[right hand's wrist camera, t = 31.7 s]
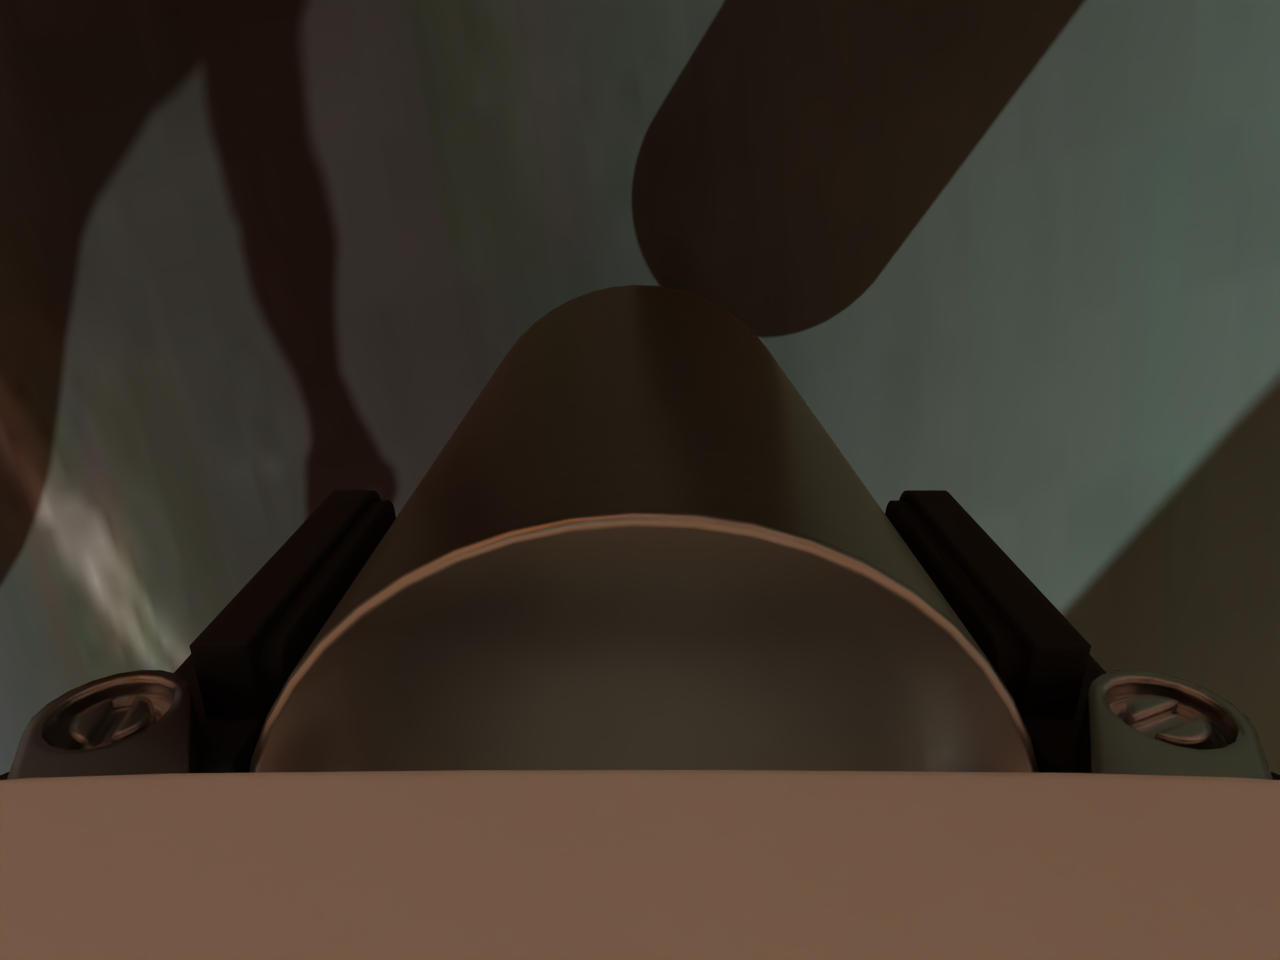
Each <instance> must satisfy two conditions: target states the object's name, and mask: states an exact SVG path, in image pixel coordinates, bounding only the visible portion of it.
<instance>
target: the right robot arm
mask: <svg viewBox="0 0 1280 960" xmlns="http://www.w3.org/2000/svg"><path fill="white" fill-rule="evenodd" d="M885 515H886V516H887V518H888V519H889V521H890V522H891V523H892V525H893V526H894V528H895V529H896V530H897V532H898V533H899V535H900V536H901V538H902V539H903V540H904V542H905V543H906V545H907V546H908V547H909V549H910V550H911V552H912V553H913V554H914V556H915V557H916V559H917V560H918V561H919V563H920V564H921V566H922V567H923V568H924V570H925V571H926V573H927V574H928V575H929V577H930V578H931V580H932V581H933V583H934V584H935V585H936V587H937V588H938V590H939V591H940V592H941V594H942V595H943V597H944V598H945V599H946V601H947V602H948V604H949V605H950V606H951V608H952V609H953V611H954V612H955V613H956V615H957V616H958V618H959V619H960V620H961V622H962V623H963V625H964V626H965V628H966V629H967V630H968V632H969V633H970V635H971V636H972V637H973V639H974V640H975V642H976V643H977V644H978V646H979V647H980V649H981V650H982V651H983V653H984V654H985V656H986V657H987V658H988V660H989V662H990V663H991V665H992V666H993V668H994V669H995V671H996V672H997V674H998V675H999V677H1000V678H1001V680H1002V682H1003V683H1004V685H1005V686H1006V688H1007V689H1008V691H1009V692H1010V694H1011V695H1012V697H1013V699H1014V701H1015V703H1016V706H1017V708H1018V710H1019V713H1020V715H1021V717H1022V720H1023V722H1024V724H1025V727H1026V729H1027V731H1028V734H1029V736H1030V738H1031V742H1032V746H1033V750H1034V754H1035V759H1036V763H1037V767H1038V771H1039V773H1026V772H911V771H795V770H452V771H360V772H268V773H249V772H250V766H251V760H252V756H253V754H254V751H255V748H256V745H257V742H258V739H259V737H260V734H261V731H262V728H263V725H264V723H265V720H266V717H267V715H268V713H269V712H270V710H271V708H272V706H273V705H274V703H275V701H276V699H277V697H278V696H279V694H280V692H281V690H282V688H283V687H284V685H285V683H286V681H287V680H288V678H289V676H290V675H291V673H292V672H293V670H294V669H295V667H296V666H297V664H298V663H299V661H300V660H301V658H302V657H303V655H304V654H305V652H306V651H307V649H308V648H309V646H310V645H311V644H312V642H313V641H314V639H315V638H316V636H317V635H318V633H319V632H320V630H321V629H322V627H323V626H324V624H325V623H326V621H327V620H328V618H329V617H330V615H331V614H332V612H333V611H334V609H335V608H336V607H337V605H338V604H339V602H340V601H341V599H342V598H343V596H344V595H345V593H346V592H347V590H348V589H349V587H350V586H351V584H352V583H353V581H354V580H355V578H356V577H357V575H358V574H359V573H360V571H361V570H362V568H363V567H364V565H365V564H366V562H367V561H368V559H369V558H370V556H371V555H372V553H373V552H374V550H375V549H376V547H377V546H378V544H379V543H380V541H381V540H382V538H383V537H384V536H385V534H386V533H387V531H388V530H389V528H390V527H391V525H392V524H393V522H394V521H395V519H396V516H395V510H394V506H393V504H392V502H391V501H381V498H380V496H379V494H378V493H377V491H334V492H332V493H331V494H330V495H329V496H328V497H327V498H326V500H325V501H324V502H323V503H322V504H321V505H320V506H319V507H318V508H317V509H316V510H315V511H314V512H313V514H312V515H311V516H310V517H309V518H308V519H307V520H306V521H305V522H304V523H303V524H302V525H301V526H300V527H299V529H298V530H297V531H296V532H295V533H294V534H293V535H292V536H291V537H290V538H289V539H288V540H287V541H286V543H285V544H284V545H283V546H282V547H281V548H280V549H279V550H278V551H277V552H276V553H275V554H274V555H273V557H272V558H271V559H270V560H269V561H268V562H267V563H266V564H265V565H264V566H263V567H262V568H261V569H260V571H259V572H258V573H257V574H256V575H255V576H254V577H253V578H252V579H251V580H250V581H249V582H248V583H247V585H246V586H245V587H244V588H243V589H242V590H241V591H240V592H239V593H238V594H237V595H236V596H235V597H234V599H233V600H232V601H231V602H230V603H229V604H228V605H227V606H226V607H225V608H224V609H223V610H222V611H221V613H220V614H219V615H218V616H217V617H216V618H215V619H214V620H213V621H212V622H211V623H210V624H209V625H208V627H207V628H206V629H205V630H204V631H203V632H202V633H201V634H200V635H199V636H198V637H197V638H196V639H195V641H194V642H193V643H192V644H191V645H190V650H191V655H190V656H189V657H188V658H187V659H186V660H185V661H184V663H183V664H182V665H181V666H180V667H179V668H178V669H177V670H176V671H175V672H174V673H170V672H166V671H162V670H139V671H132V672H126V673H119V674H115V675H111V676H108V677H104V678H101V679H97V680H94V681H91V682H89V683H87V684H84V685H82V686H80V687H77V688H75V689H73V690H70V691H68V692H66V693H65V694H63V695H62V696H60V697H58V698H57V699H55V700H53V701H52V702H50V703H48V704H47V705H46V706H45V707H44V708H42V709H41V710H40V711H39V712H38V713H37V714H36V715H35V716H33V717H32V718H31V720H30V722H29V723H28V725H27V727H26V728H25V730H24V731H23V734H22V737H21V740H20V743H19V746H18V749H17V752H16V754H15V757H14V760H13V763H12V766H11V769H10V772H8V773H5V774H3V775H0V960H1280V775H1278V774H1275V773H1273V772H1270V769H1269V766H1268V763H1267V760H1266V757H1265V754H1264V752H1263V749H1262V746H1261V743H1260V740H1259V737H1258V734H1257V731H1256V730H1255V728H1254V727H1253V725H1252V723H1251V722H1250V720H1249V718H1248V717H1247V716H1245V715H1244V714H1243V713H1242V712H1241V711H1240V710H1239V709H1238V708H1236V707H1235V706H1234V705H1233V704H1232V703H1230V702H1228V701H1227V700H1225V699H1223V698H1222V697H1220V696H1218V695H1217V694H1215V693H1214V692H1212V691H1210V690H1207V689H1205V688H1203V687H1200V686H1198V685H1196V684H1193V683H1191V682H1189V681H1186V680H1183V679H1179V678H1176V677H1172V676H1169V675H1165V674H1161V673H1154V672H1148V671H1141V670H1118V671H1114V672H1110V673H1106V672H1105V671H1104V670H1103V669H1102V668H1101V666H1100V665H1099V664H1098V663H1097V662H1096V661H1095V660H1094V659H1093V658H1092V657H1091V656H1090V654H1089V652H1090V648H1091V645H1090V644H1089V643H1088V642H1087V641H1086V640H1085V639H1084V638H1083V637H1082V636H1081V635H1080V634H1079V632H1078V631H1077V630H1076V629H1075V628H1074V627H1073V626H1072V625H1071V624H1070V623H1069V622H1068V621H1067V620H1066V618H1065V617H1064V616H1063V615H1062V614H1061V613H1060V612H1059V611H1058V610H1057V609H1056V608H1055V607H1054V606H1053V604H1052V603H1051V602H1050V601H1049V600H1048V599H1047V598H1046V597H1045V596H1044V595H1043V594H1042V593H1041V592H1040V590H1039V589H1038V588H1037V587H1036V586H1035V585H1034V584H1033V583H1032V582H1031V581H1030V580H1029V579H1028V578H1027V577H1026V575H1025V574H1024V573H1023V572H1022V571H1021V570H1020V569H1019V568H1018V567H1017V566H1016V565H1015V564H1014V563H1013V561H1012V560H1011V559H1010V558H1009V557H1008V556H1007V555H1006V554H1005V553H1004V552H1003V551H1002V550H1001V549H1000V547H999V546H998V545H997V544H996V543H995V542H994V541H993V540H992V539H991V538H990V537H989V536H988V535H987V533H986V532H985V531H984V530H983V529H982V528H981V527H980V526H979V525H978V524H977V523H976V522H975V521H974V520H973V518H972V517H971V516H970V515H969V514H968V513H967V512H966V511H965V510H964V509H963V508H962V507H961V506H960V504H959V503H958V502H957V501H956V500H955V499H954V498H953V497H952V496H951V495H950V494H949V493H948V492H947V491H904V492H903V493H902V495H901V497H900V500H899V501H890V502H889V503H888V505H887V508H886V512H885Z"/></svg>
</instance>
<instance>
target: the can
mask: <svg viewBox="0 0 1280 960" xmlns="http://www.w3.org/2000/svg"><path fill="white" fill-rule="evenodd" d="M452 770H795V771H911V772H1026V773H1039V771H1038V767H1037V763H1036V759H1035V754H1034V750H1033V746H1032V742H1031V738H1030V736H1029V734H1028V731H1027V729H1026V727H1025V724H1024V722H1023V720H1022V717H1021V715H1020V713H1019V710H1018V708H1017V706H1016V703H1015V701H1014V699H1013V697H1012V695H1011V694H1010V692H1009V691H1008V689H1007V688H1006V686H1005V685H1004V683H1003V682H1002V680H1001V678H1000V677H999V675H998V674H997V672H996V671H995V669H994V668H993V666H992V665H991V663H990V662H989V660H988V658H987V657H986V656H985V654H984V653H983V651H982V650H981V649H980V647H979V646H978V644H977V643H976V642H975V640H974V639H973V637H972V636H971V635H970V633H969V632H968V630H967V629H966V628H965V626H964V625H963V623H962V622H961V620H960V619H959V618H958V616H957V615H956V613H955V612H954V611H953V609H952V608H951V606H950V605H949V604H948V602H947V601H946V599H945V598H944V597H943V595H942V594H941V592H940V591H939V590H938V588H937V587H936V585H935V584H934V583H933V581H932V580H931V578H930V577H929V575H928V574H927V573H926V571H925V570H924V568H923V567H922V566H921V564H920V563H919V561H918V560H917V559H916V557H915V556H914V554H913V553H912V552H911V550H910V549H909V547H908V546H907V545H906V543H905V542H904V540H903V539H902V538H901V536H900V535H899V533H898V532H897V530H896V529H895V528H894V526H893V525H892V523H891V522H890V521H889V519H888V518H887V516H886V515H885V514H884V512H883V511H882V509H881V508H880V507H879V505H878V504H877V502H876V501H875V500H874V498H873V497H872V495H871V494H870V493H869V491H868V490H867V488H866V487H865V485H864V484H863V483H862V481H861V480H860V478H859V477H858V476H857V474H856V473H855V471H854V470H853V469H852V467H851V466H850V464H849V463H848V462H847V460H846V459H845V457H844V456H843V455H842V453H841V452H840V450H839V449H838V447H837V446H836V445H835V443H834V442H833V440H832V439H831V438H830V436H829V435H828V433H827V432H826V431H825V429H824V428H823V426H822V425H821V424H820V422H819V421H818V419H817V418H816V417H815V415H814V414H813V412H812V411H811V410H810V408H809V407H808V405H807V404H806V402H805V401H804V400H803V398H802V397H801V395H800V394H799V393H798V391H797V390H796V388H795V387H794V386H793V384H792V383H791V381H790V380H789V379H788V377H787V376H786V374H785V373H784V372H783V370H782V369H781V367H780V366H779V365H778V363H777V362H776V360H775V359H774V357H773V356H772V355H771V353H770V352H769V350H768V349H767V348H766V346H765V345H764V344H763V343H762V342H761V341H760V339H759V338H758V337H757V336H756V335H755V334H754V333H753V331H752V330H750V329H749V328H748V327H747V326H746V325H745V324H744V323H742V322H741V321H740V320H739V319H738V318H737V317H735V316H734V315H732V314H731V313H729V312H728V311H726V310H724V309H723V308H721V307H720V306H718V305H716V304H714V303H712V302H710V301H708V300H706V299H704V298H701V297H699V296H696V295H693V294H690V293H687V292H684V291H681V290H677V289H671V288H666V287H660V286H646V285H630V286H620V287H611V288H607V289H603V290H598V291H594V292H590V293H588V294H585V295H583V296H580V297H577V298H575V299H572V300H570V301H568V302H566V303H564V304H563V305H561V306H559V307H557V308H555V309H553V310H552V311H550V312H549V313H548V314H546V315H545V316H544V317H542V318H541V319H539V320H538V321H537V322H535V323H534V324H533V325H532V326H531V327H530V328H529V329H528V330H527V331H526V332H525V333H524V334H523V335H522V336H521V337H520V338H519V339H518V341H517V342H516V343H515V345H514V346H513V347H512V348H511V350H510V351H509V352H508V353H507V355H506V356H505V358H504V359H503V361H502V362H501V364H500V365H499V367H498V368H497V370H496V371H495V373H494V374H493V376H492V377H491V379H490V380H489V382H488V383H487V385H486V386H485V388H484V389H483V390H482V392H481V393H480V395H479V396H478V398H477V399H476V401H475V402H474V404H473V405H472V407H471V408H470V410H469V411H468V413H467V414H466V416H465V417H464V419H463V420H462V422H461V423H460V425H459V426H458V427H457V429H456V430H455V432H454V433H453V435H452V436H451V438H450V439H449V441H448V442H447V444H446V445H445V447H444V448H443V450H442V451H441V453H440V454H439V456H438V457H437V459H436V460H435V462H434V463H433V464H432V466H431V467H430V469H429V470H428V472H427V473H426V475H425V476H424V478H423V479H422V481H421V482H420V484H419V485H418V487H417V488H416V490H415V491H414V493H413V494H412V496H411V497H410V499H409V500H408V501H407V503H406V504H405V506H404V507H403V509H402V510H401V512H400V513H399V515H398V516H397V518H396V519H395V521H394V522H393V524H392V525H391V527H390V528H389V530H388V531H387V533H386V534H385V536H384V537H383V538H382V540H381V541H380V543H379V544H378V546H377V547H376V549H375V550H374V552H373V553H372V555H371V556H370V558H369V559H368V561H367V562H366V564H365V565H364V567H363V568H362V570H361V571H360V573H359V574H358V575H357V577H356V578H355V580H354V581H353V583H352V584H351V586H350V587H349V589H348V590H347V592H346V593H345V595H344V596H343V598H342V599H341V601H340V602H339V604H338V605H337V607H336V608H335V609H334V611H333V612H332V614H331V615H330V617H329V618H328V620H327V621H326V623H325V624H324V626H323V627H322V629H321V630H320V632H319V633H318V635H317V636H316V638H315V639H314V641H313V642H312V644H311V645H310V646H309V648H308V649H307V651H306V652H305V654H304V655H303V657H302V658H301V660H300V661H299V663H298V664H297V666H296V667H295V669H294V670H293V672H292V673H291V675H290V676H289V678H288V680H287V681H286V683H285V685H284V687H283V688H282V690H281V692H280V694H279V696H278V697H277V699H276V701H275V703H274V705H273V706H272V708H271V710H270V712H269V713H268V715H267V717H266V720H265V723H264V725H263V728H262V731H261V734H260V737H259V739H258V742H257V745H256V748H255V751H254V754H253V756H252V760H251V766H250V772H249V773H268V772H360V771H452Z"/></svg>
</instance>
